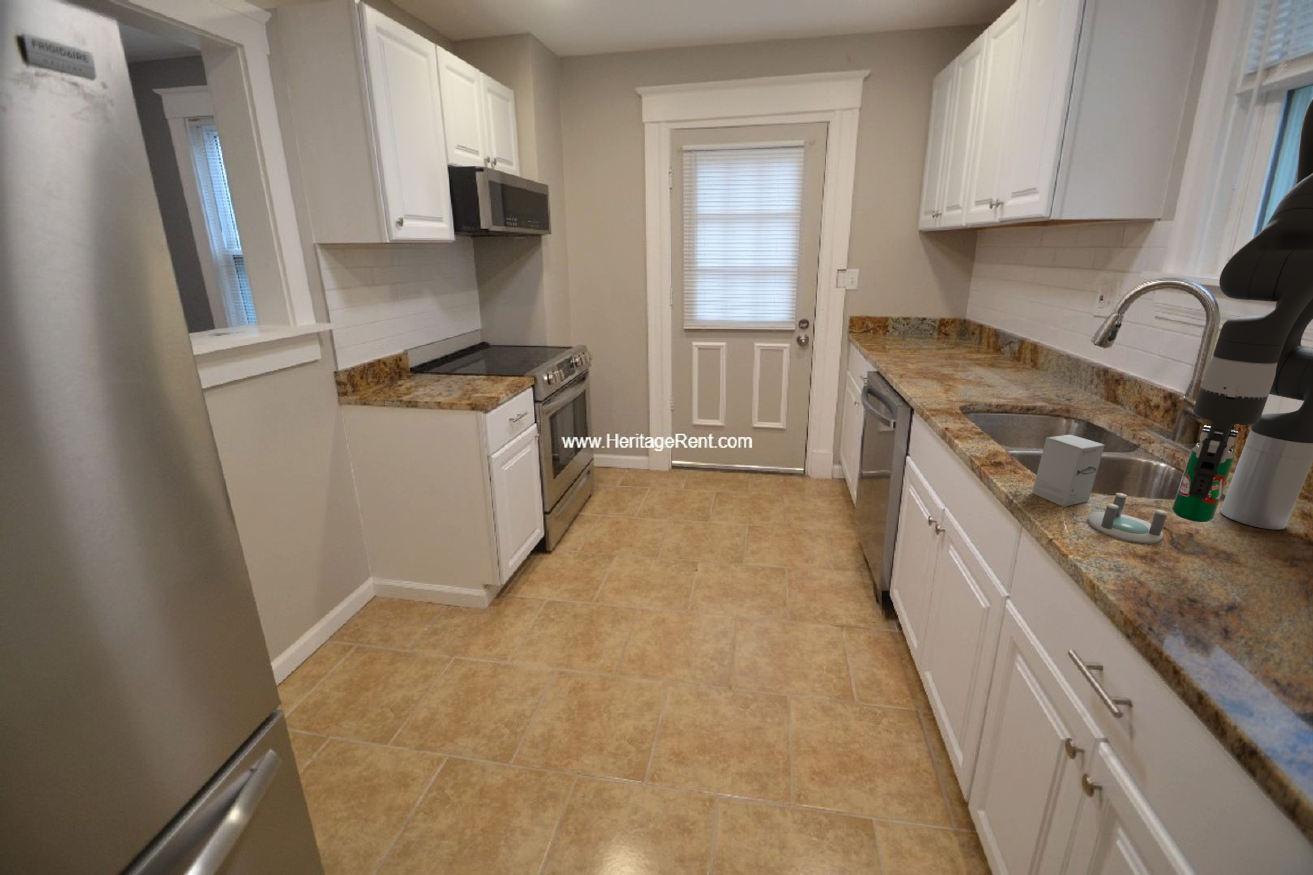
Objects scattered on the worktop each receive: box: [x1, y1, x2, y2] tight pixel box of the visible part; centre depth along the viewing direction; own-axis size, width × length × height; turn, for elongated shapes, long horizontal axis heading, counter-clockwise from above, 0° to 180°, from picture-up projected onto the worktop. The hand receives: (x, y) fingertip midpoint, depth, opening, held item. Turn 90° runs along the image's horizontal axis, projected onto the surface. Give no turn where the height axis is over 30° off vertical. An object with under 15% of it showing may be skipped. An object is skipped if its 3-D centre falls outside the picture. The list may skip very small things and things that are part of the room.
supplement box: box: [1031, 434, 1105, 507], centre depth 120 cm, size 7×7×13 cm
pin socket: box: [1087, 492, 1169, 544], centre depth 108 cm, size 11×11×5 cm
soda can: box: [1171, 442, 1235, 523], centre depth 93 cm, size 5×5×12 cm
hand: (1199, 491), depth 94 cm, fingers closed on soda can, 5 cm apart
